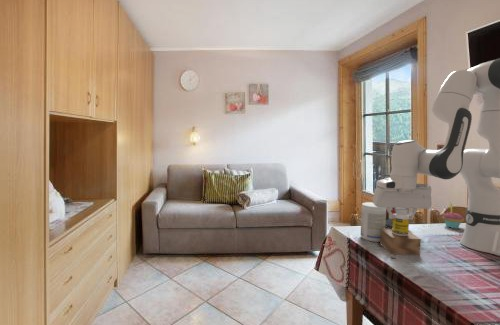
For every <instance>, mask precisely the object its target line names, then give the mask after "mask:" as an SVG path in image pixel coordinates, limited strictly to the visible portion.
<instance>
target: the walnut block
mask: <svg viewBox="0 0 500 325" xmlns="http://www.w3.org/2000/svg"><path fill="white" fill-rule="evenodd" d="M421 242H422V239H421V237H419V236H417V235H415V234H414V233H413V232H411V231H409V230H408V235H407V236H399V235H395V234H393V233H392V229H390V228H389V229H386V228H385V229H381V242H380V245H381V246H382V247H383V248H385V250H386V251H388V252H389V254H392V255H406V256H407V255H408V256H409V255H412V256H420V255H421V245H422V244H421Z"/></svg>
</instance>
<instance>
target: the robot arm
mask: <svg viewBox="0 0 500 325" xmlns="http://www.w3.org/2000/svg"><path fill="white" fill-rule="evenodd" d="M474 95H481V96H482V103H481V106H480V111H479V116H478V122H477V128H476V132H477V135H479V136H480V138H481V137H482V138H483V139H485V140H487V142H488V144H489V148H475V147H474V148H472V147H471V148H467V149H466V145H467V140H468V138H469V133H470V130H471V126H472V117H473V116H472V113H471V111H470V110H469V109H470V108H469V107H470V105H471V102H472V99H473V97H474ZM431 110H432V112H433V115H434V116H435V117H436V118H437V119H438V120H440V121H442V122H443V123H446V124H448V131H447V135H446V138H445V141H444V145H443V147H442V148H440V149H428V148H426V147H424V146H422V145H421V144H420V143H418V141H417V140H415V139H407V140H406V139H405V140H399V141H397V142H395V143H394V145H393V147H392V151H391V159H390V165H391V171H390V173H389V174H390V177H389V178H385V179H384V178H383V179H378V180H377V181H376V186H377V187H375V189H374V192H373V198H372V203H373V204H374V205H375V206H377V207H386V210H387V211H388V213H389V219H395V215H394V214H392V212H391V210H392V208H409V214H407V215H408V216H409V221H413V220H414V216H415V215H416V213H417V211H418V210H419V209H420V210H421V209H423V210H425V209H427V210H429V209H430V208H431V207H432V195H431V194H432V187H431V186H430V185H429V184H428V183H417V182H418V175H424V176H429V177H435V178H438V179H442V180H451V179H453V178H455V177H456V176H457V175H461V177H462V178H463V180H464V182H465V185H466V187H467V192H468V193H467V195H468V196H467V197H468V198H467V199H468V200H467V209H465V227H464V230H463V234H462V237H461V238H460V241H459V243H460V244H461V245H463V246H464V247H467V248H468V249H469V248H470V249H472V250H475V251H479V252H484V253H488V254H492V255H495V256H498V257H500V188H499V187H497V186H496V184H494V181H493V179H492V178H496V179H500V57H499V58H496V59H493V60H488V61H486V62H482V63H479V64H478V65H475V66H473V67H470V68H467V69H458V70H455V71H452V72H451V73H450V74H449V75H448V76H447V77H446V79H445V80H444V82H443V83H442V85H441V87H440V88H439V90H438V92H437V94H436V97H435V98H434V101H433V103H432V109H431Z"/></svg>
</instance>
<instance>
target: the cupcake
mask: <svg viewBox="0 0 500 325" xmlns="http://www.w3.org/2000/svg"><path fill="white" fill-rule="evenodd" d="M442 219H443V221H444V223H445V226H446V227H447V228H449V227H451V228H450V229H459V227H460V225H461V224H462V223H463V222H464V223H465V217H464V216H462V215H461V214H460V213H456V212H453V204H452V203H450V211H449V212H446V213H443V215H442Z"/></svg>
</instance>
